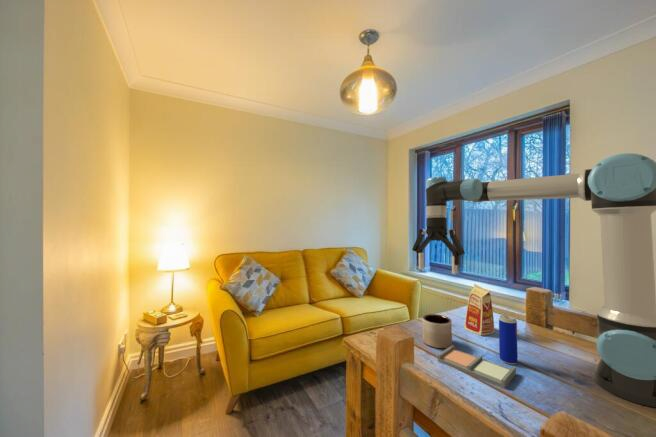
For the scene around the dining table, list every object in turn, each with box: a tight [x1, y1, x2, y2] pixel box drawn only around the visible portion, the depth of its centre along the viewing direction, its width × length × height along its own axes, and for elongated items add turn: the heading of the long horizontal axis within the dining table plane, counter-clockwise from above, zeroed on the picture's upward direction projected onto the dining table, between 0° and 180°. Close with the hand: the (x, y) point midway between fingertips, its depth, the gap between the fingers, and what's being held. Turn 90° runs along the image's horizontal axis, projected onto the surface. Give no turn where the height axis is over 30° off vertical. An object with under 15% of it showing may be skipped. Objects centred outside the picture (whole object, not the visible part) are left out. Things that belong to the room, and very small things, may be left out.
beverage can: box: [498, 314, 518, 366], centre depth 92 cm, size 5×5×15 cm
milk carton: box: [463, 283, 495, 336], centre depth 117 cm, size 9×9×20 cm
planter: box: [422, 313, 453, 350], centre depth 106 cm, size 11×11×10 cm
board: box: [437, 344, 517, 389], centre depth 88 cm, size 20×11×2 cm, turn 40°
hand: (437, 271), depth 104 cm, fingers open, 13 cm apart
